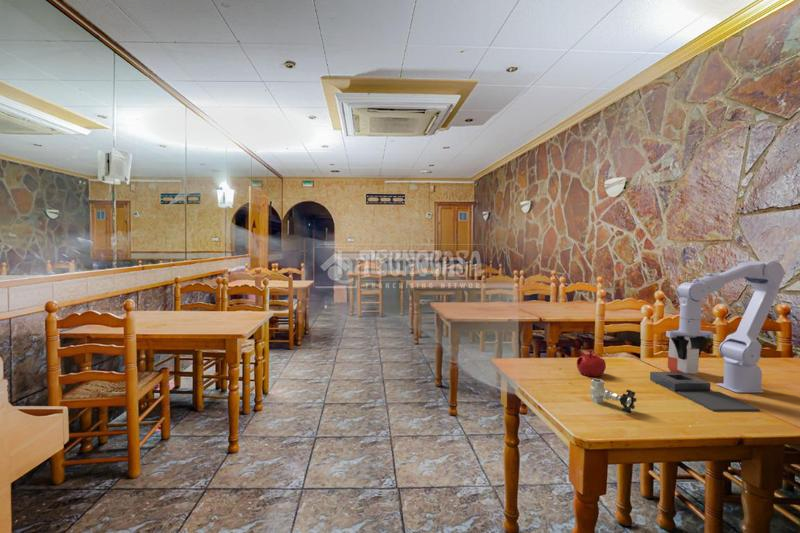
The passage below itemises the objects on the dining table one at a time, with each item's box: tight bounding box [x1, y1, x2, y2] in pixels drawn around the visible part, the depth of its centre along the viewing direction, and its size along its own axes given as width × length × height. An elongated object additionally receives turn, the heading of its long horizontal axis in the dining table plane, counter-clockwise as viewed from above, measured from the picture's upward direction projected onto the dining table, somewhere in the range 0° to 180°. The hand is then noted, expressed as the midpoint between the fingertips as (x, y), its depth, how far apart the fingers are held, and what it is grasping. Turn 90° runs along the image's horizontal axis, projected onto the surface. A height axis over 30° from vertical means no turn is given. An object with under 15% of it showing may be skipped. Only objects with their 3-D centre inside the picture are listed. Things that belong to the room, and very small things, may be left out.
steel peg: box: [677, 346, 700, 374], centre depth 131 cm, size 4×4×8 cm
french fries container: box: [667, 335, 691, 373], centre depth 149 cm, size 5×11×18 cm, turn 122°
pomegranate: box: [576, 349, 607, 378], centre depth 146 cm, size 10×10×9 cm
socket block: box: [649, 371, 711, 393], centre depth 134 cm, size 12×12×3 cm
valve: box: [589, 378, 637, 414], centre depth 116 cm, size 7×7×12 cm
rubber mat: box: [676, 391, 760, 412], centre depth 120 cm, size 14×14×1 cm
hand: (688, 358), depth 131 cm, fingers closed on steel peg, 4 cm apart
